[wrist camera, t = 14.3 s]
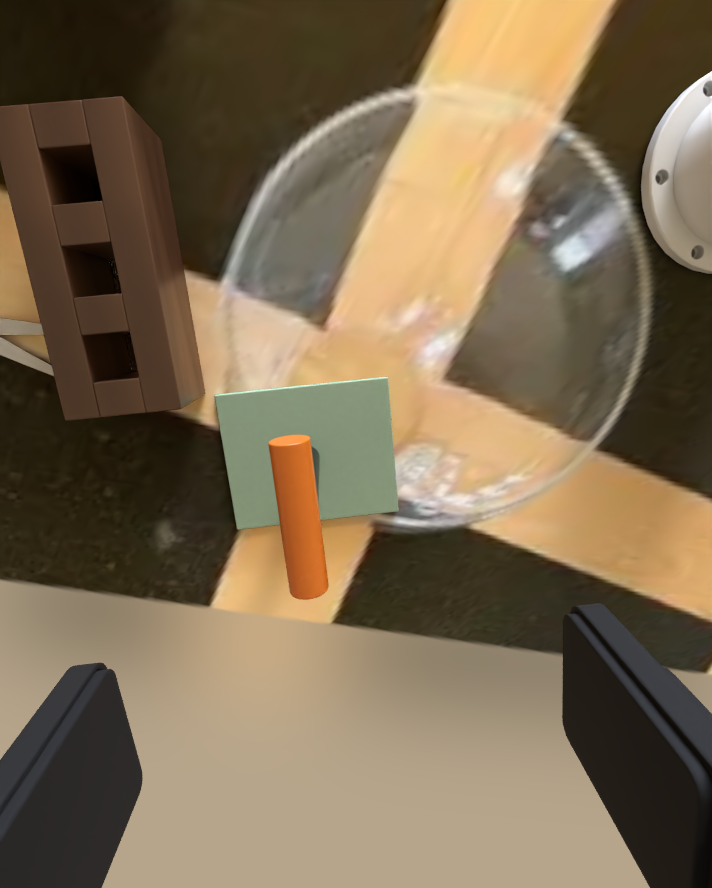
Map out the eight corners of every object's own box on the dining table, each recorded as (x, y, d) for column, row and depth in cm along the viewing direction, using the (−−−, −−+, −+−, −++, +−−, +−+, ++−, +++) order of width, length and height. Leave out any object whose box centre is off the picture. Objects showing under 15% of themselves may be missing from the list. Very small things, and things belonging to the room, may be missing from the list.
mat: (386, 376, 34) (388, 377, 34) (397, 508, 37) (398, 511, 36) (215, 394, 34) (214, 395, 33) (238, 526, 36) (237, 530, 36)
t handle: (314, 400, 34) (309, 442, 22) (327, 508, 36) (328, 597, 24) (285, 403, 34) (265, 447, 22) (299, 511, 36) (288, 602, 24)
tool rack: (161, 139, 30) (122, 95, 24) (205, 394, 34) (181, 409, 28) (52, 148, 30) (-15, 106, 24) (109, 404, 34) (64, 421, 28)
